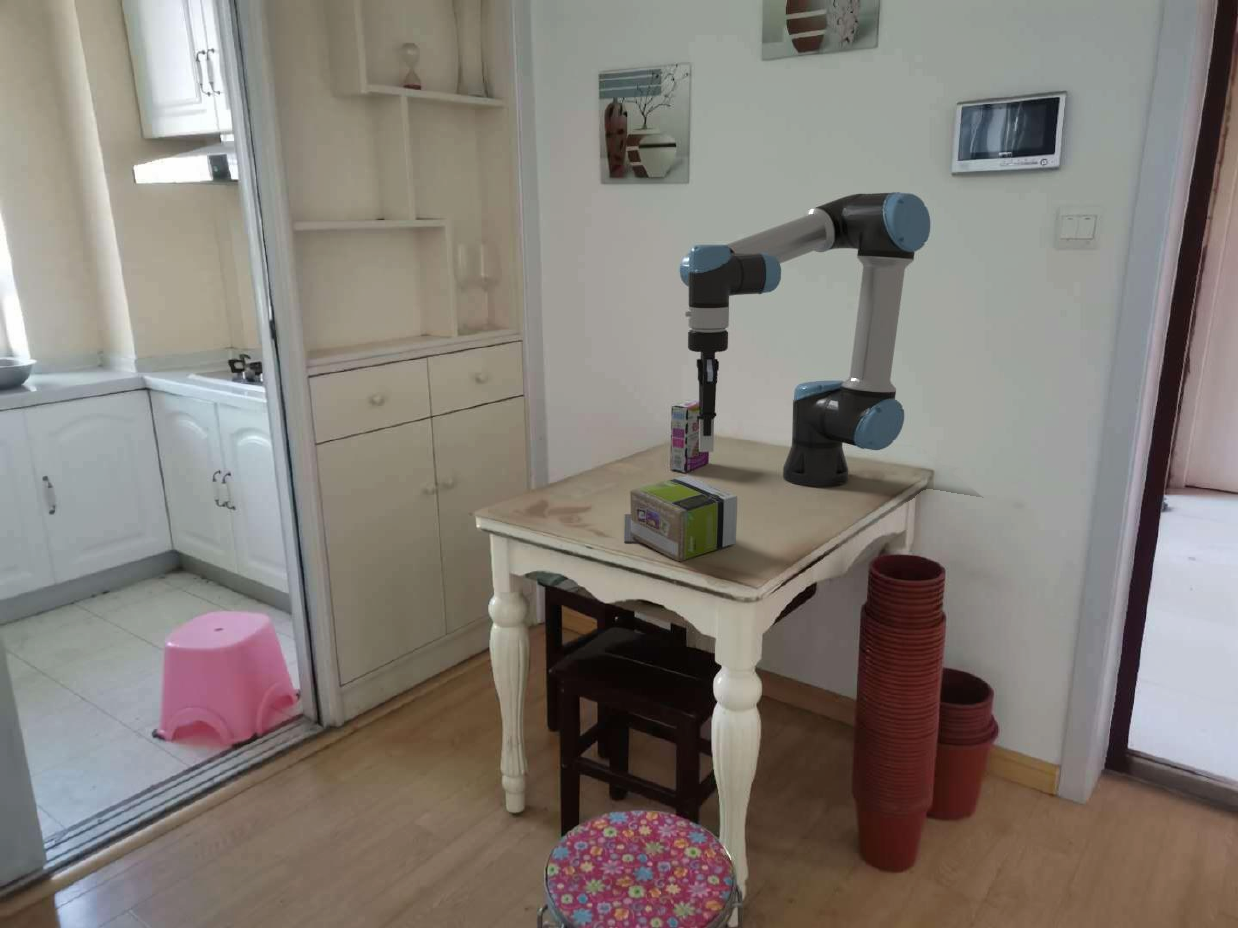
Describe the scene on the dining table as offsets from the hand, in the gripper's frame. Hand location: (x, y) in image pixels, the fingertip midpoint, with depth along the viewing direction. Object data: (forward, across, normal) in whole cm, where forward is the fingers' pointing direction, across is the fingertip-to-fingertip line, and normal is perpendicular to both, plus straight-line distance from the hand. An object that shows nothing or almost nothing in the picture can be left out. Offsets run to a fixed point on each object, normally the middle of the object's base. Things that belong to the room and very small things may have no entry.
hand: (706, 450), depth 177 cm
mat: (+16, -1, -9) cm, 19 cm away
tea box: (+11, +3, +1) cm, 11 cm away
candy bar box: (+17, -46, 0) cm, 49 cm away
